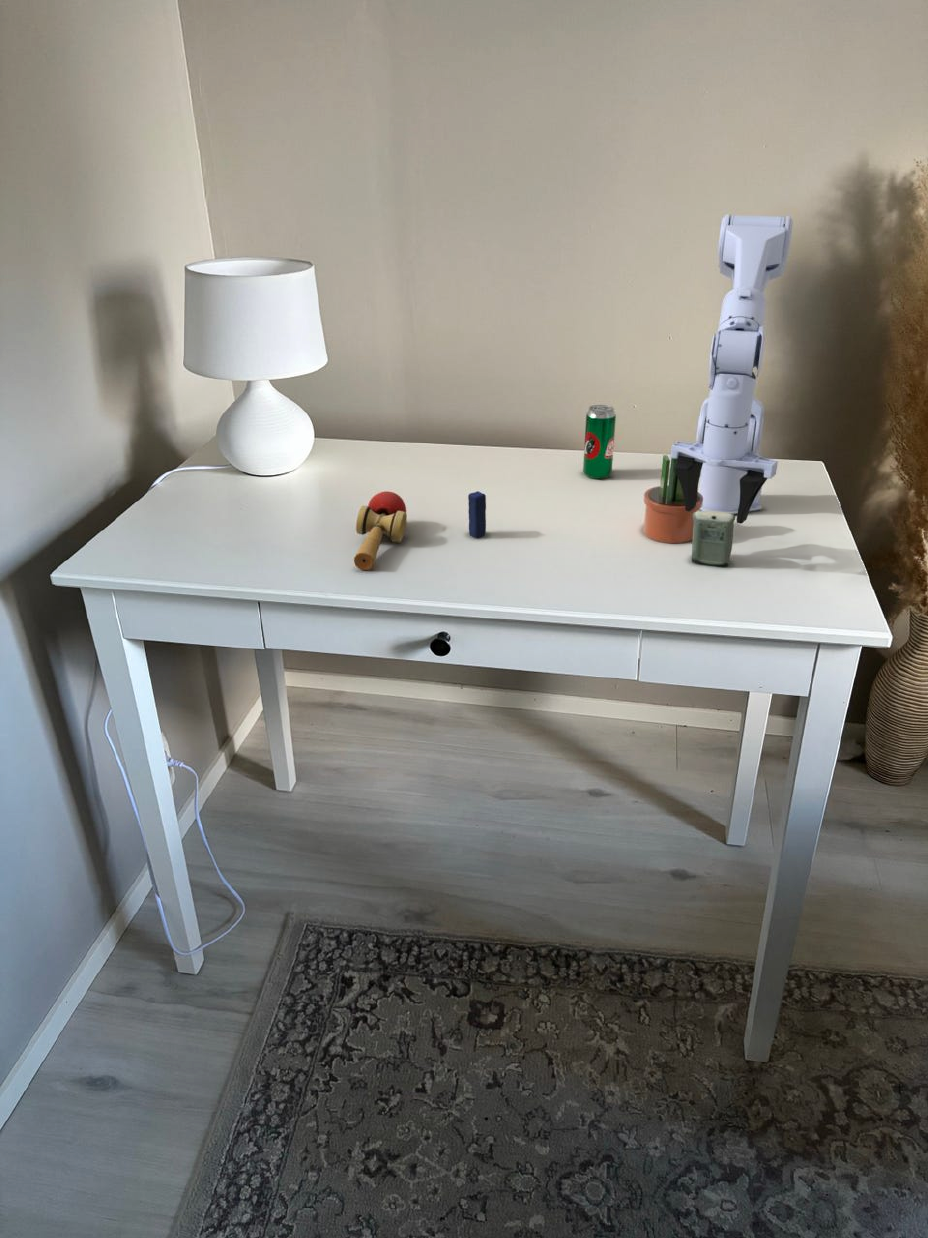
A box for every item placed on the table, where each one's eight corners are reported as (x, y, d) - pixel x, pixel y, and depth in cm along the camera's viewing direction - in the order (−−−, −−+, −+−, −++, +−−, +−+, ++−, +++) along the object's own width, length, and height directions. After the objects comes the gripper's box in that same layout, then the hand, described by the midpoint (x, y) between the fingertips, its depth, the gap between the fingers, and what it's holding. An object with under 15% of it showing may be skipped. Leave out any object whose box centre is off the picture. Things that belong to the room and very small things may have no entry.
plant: (679, 517, 155) (688, 436, 149) (710, 539, 148) (720, 455, 141) (630, 525, 152) (637, 443, 146) (659, 548, 145) (668, 462, 139)
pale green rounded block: (697, 572, 138) (704, 520, 134) (681, 557, 143) (687, 506, 139) (734, 568, 139) (742, 516, 135) (717, 552, 144) (724, 502, 140)
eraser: (487, 535, 150) (487, 494, 146) (475, 539, 149) (475, 497, 145) (478, 531, 151) (478, 489, 148) (467, 534, 150) (466, 493, 147)
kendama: (397, 579, 140) (419, 514, 154) (386, 542, 136) (410, 479, 150) (346, 584, 141) (373, 519, 156) (334, 548, 138) (362, 485, 152)
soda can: (610, 480, 169) (615, 413, 163) (581, 478, 170) (585, 411, 164) (612, 470, 173) (617, 404, 168) (584, 468, 174) (587, 403, 168)
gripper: (665, 419, 132) (656, 512, 138) (769, 439, 124) (755, 536, 131) (686, 406, 137) (677, 496, 143) (788, 424, 129) (773, 519, 136)
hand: (715, 514), depth 138 cm, fingers open, 7 cm apart
